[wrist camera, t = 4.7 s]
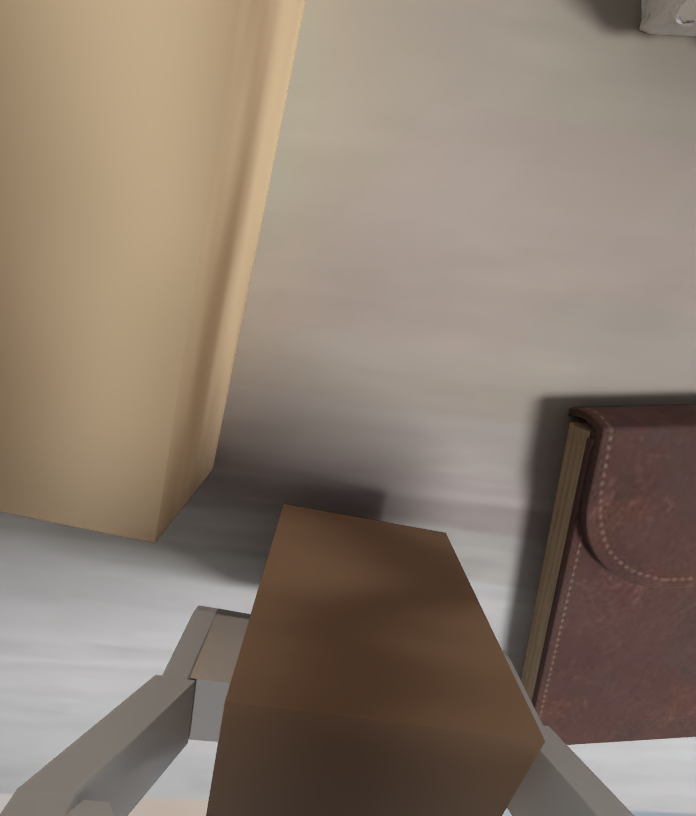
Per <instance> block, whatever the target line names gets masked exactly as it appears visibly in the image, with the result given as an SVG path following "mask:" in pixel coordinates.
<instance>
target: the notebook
mask: <svg viewBox="0 0 696 816" xmlns="http://www.w3.org/2000/svg"><path fill="white" fill-rule="evenodd" d="M568 415H569V416H578V417H581V418H583V419H585V420H586V421H588V422H570V424H569V430H568V435H567V440H566V445H565V451H564V456H563V461H562V466H561V472H560V477H559V482H558V487H557V493H556V498H555V503H554V509H553V514H552V519H551V524H550V530H549V535H548V540H547V545H546V551H545V556H544V561H543V566H542V572H541V577H540V582H539V587H538V593H537V598H536V603H535V608H534V614H533V619H532V624H531V629H530V635H529V640H528V645H527V650H526V656H525V661H524V666H523V671H522V677H521V682H522V684H523V686H524V688H525V690H526V692H527V694H528V696H529V698H530V700H531V702H532V704H533V706H534V708H535V710H536V712H537V714H538V716H539V718H540V720H541V722H542V724H543V725H544V726H549V727H550V728H551V729H552V730H553V731H554V732H555V733H556V734H557V735H558V736H559V738H560V739H561V740H562V741H563V742H564V743H565V744H566V745H572V744H587V743H603V742H619V741H634V740H650V739H666V738H681V737H696V405H657V406H616V407H576V408H570V409H569V414H568Z"/></svg>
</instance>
